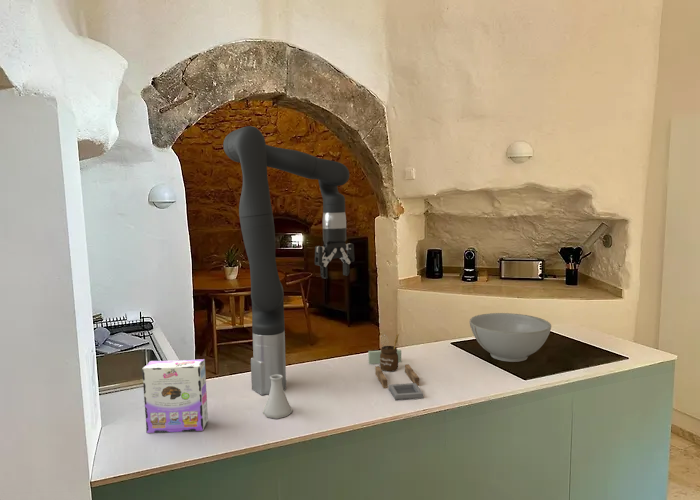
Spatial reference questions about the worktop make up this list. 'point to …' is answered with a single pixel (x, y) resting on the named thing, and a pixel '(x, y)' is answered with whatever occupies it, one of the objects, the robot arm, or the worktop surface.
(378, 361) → the end stop
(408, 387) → the grey flat square tray
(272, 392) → the flask
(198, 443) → the worktop surface
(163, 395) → the candy box
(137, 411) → the worktop surface
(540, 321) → the decorative bowl
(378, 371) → the channel
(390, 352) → the brown jar with stick
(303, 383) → the worktop surface
